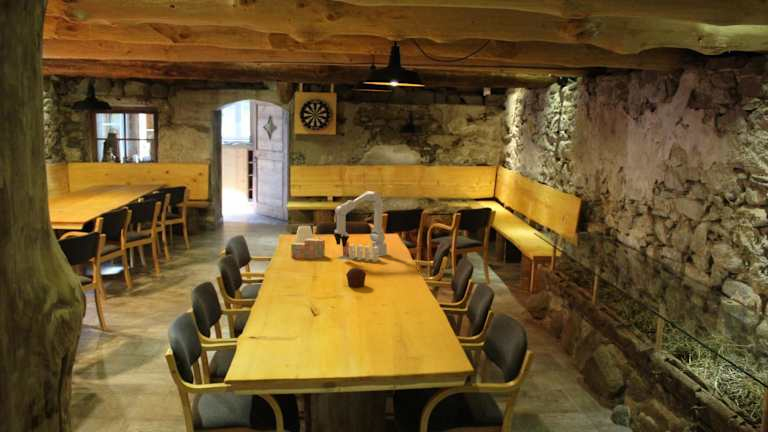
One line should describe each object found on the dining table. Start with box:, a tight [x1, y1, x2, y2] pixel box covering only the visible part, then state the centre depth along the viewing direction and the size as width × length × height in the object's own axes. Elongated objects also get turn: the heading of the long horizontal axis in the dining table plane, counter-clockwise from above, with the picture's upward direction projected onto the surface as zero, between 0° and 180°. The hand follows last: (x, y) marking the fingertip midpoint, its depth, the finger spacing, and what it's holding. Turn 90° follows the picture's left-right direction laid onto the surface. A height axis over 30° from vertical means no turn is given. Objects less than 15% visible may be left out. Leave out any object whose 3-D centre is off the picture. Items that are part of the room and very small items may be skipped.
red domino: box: [342, 241, 350, 256], centre depth 410 cm, size 2×5×9 cm, turn 157°
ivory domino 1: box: [348, 243, 356, 259], centre depth 400 cm, size 2×5×9 cm, turn 157°
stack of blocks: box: [290, 238, 326, 260], centre depth 405 cm, size 21×6×12 cm, turn 84°
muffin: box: [345, 267, 367, 289], centre depth 338 cm, size 12×11×10 cm
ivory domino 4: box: [372, 246, 379, 263], centre depth 394 cm, size 2×5×9 cm, turn 157°
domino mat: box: [337, 255, 380, 263], centre depth 399 cm, size 28×8×1 cm, turn 67°
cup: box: [294, 225, 315, 243], centre depth 440 cm, size 13×13×14 cm
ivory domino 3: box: [364, 245, 372, 262], centre depth 396 cm, size 2×5×9 cm, turn 158°
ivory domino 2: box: [356, 244, 364, 261], centre depth 398 cm, size 2×5×9 cm, turn 157°
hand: (341, 245), depth 395 cm, fingers open, 7 cm apart
